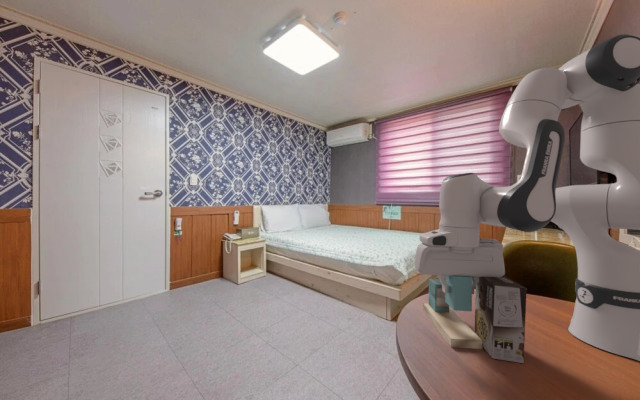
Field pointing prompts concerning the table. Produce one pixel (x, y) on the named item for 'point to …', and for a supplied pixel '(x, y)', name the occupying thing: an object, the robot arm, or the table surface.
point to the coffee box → (501, 317)
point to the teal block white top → (459, 293)
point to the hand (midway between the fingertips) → (457, 292)
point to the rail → (448, 319)
